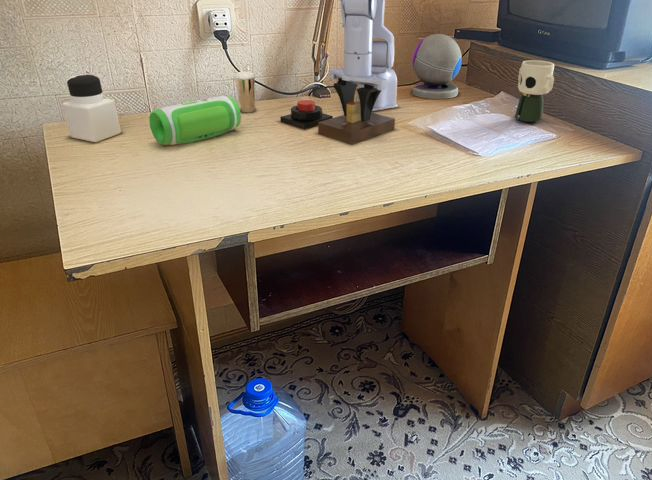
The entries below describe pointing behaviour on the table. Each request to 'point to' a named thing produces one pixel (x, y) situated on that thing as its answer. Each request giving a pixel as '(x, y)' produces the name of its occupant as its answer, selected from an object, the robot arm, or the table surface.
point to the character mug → (533, 88)
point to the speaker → (194, 120)
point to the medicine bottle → (90, 110)
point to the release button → (306, 105)
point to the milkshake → (246, 90)
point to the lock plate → (355, 128)
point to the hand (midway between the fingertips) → (357, 118)
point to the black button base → (305, 117)
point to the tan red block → (353, 112)
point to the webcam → (437, 67)
